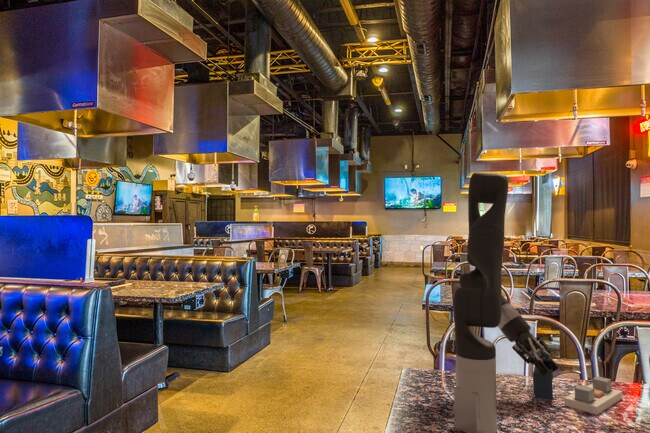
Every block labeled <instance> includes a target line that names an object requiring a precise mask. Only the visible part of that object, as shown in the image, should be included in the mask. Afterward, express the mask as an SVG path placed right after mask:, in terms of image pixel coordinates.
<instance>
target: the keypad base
mask: <svg viewBox="0 0 650 433" xmlns="http://www.w3.org/2000/svg"><path fill="white" fill-rule="evenodd" d="M586 387H590V388H593V383H590V384H588V385H586ZM594 398H595V397H594ZM622 399H623V391H621V390H618V389H614V388H611V390H609V391H608V392H604V391H603V397H601V398H600V399H599V398H595V399H594V400H592V401H591V402H586V401H583V400H579V399H575V391H574V392H573V393H571V394H569V395H567V396H565V397H564V398H563V400H564V402H563V404H564V407H565V406H566V407H569V408H572V409H576V410H579V411H582V412H587V413H590V414H593V415H599V414H601V413H602V412H603V411H605V410H606V409H607V410H608V409H609V408H610V407H611V406H613V405H614V404H616V403H618V402H620V401H621V400H622Z"/></svg>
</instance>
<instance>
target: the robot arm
mask: <svg viewBox="0 0 650 433" xmlns="http://www.w3.org/2000/svg"><path fill="white" fill-rule="evenodd" d="M508 193H509V179H508V177H507V175H506V174H503V173H496V172H494V173H493V172H483V171H482V172H481V171H478V172H477V171H476V172H473V173H472V174H471V176H470V179H469V183H468V193H467V194H468V195H467V197H468V198H467V199H468V200H467V203H468V208H467V210H468V211H467V212H468V213H467V214H468V219H467V220H468V235H467V236H468V238H467V243H466V244H467V245H466V249H467V252H466V254H467V255H466V262H467V263H468V264H469V265H470V266H473V267H474V269H472V270H469V271H466V272H463V273H462V274H461V275H460V277H459V286H460V287H458V288H456V290H455V292H454V295H453V304H452V305H453V318H454V338H455V339H454V340H455V341H454V342H455V344H454V345H455V387H454V388H453V407H454V409H453V411H454V412H453V414H454V416H453V417H454V422H453V423H454V424H453V425H454V428H455V430H458V431H461V432H464V433H497V432H498V410H497V408H498V405H497V404H498V403H497V402H498V401H497V398H498V397H497V350H496V345H495V344H494V343H493V342H492V341H490V340H488V339H485V338H484V337H481V336H479V335H478V334H477V333H475V332H474V331H473V330H472V329H471V327H473V328H474V327H476V328H488V329H493V328H494V329H495V328H498V329H499V331H500V332H501V333H502V334H503V335H504V336H505V338H507V340H508V341H509V342H510V343H513V342H514V343H515V344H513V345H512V346H511V349H513V351H514V352H515V353H516V354H517V355H518V356H519V358H522V360H523V361H524V362H525V363H526V364H528V365H529V364H531V365H534V367H536V368H537V369H538V370H539V371H540V373H541V374H542V375H543V376H545V375H546V374H548V373H549V369H548V368H547V367H546V366H545V365H544V363H543V357H545V354H548V355H549V357H550V358H552V357H551V354H552V351H551V349H550V348H549V346H548V345H547V343H546V342H545V341H544V339H543V338H542V337H541V336H540V335H538V336H537V337H535V335H533V334H532V333H531V332H530V331H531V329H532V327H531V326H530V324H529V323H528V322H527V321H526V320H525V319H524V317H523V316H522V315H521V314H520V313H519V311H518V310H517V309H516V308H515V307H514V306H513V305H512V304H510V302H509V301H508V300H507V299H506V298H505V296H504V295H503V294H502V291H503V290H502V288H503V286H502V284H503V283H502V280H503V279H502V275H503V274H502V273H503V271H502V270H503V259H504V252H505V251H504V250H505V249H504V248H505V222H506V221H505V218H506V217H505V216H506V208H507V202H508V201H507V200H508V195H509V194H508ZM479 203H480V204H491V207H490V208H488V210H487V211H485V213H483V214H482V215H481V214H480V210H479V208H480V207H479ZM558 370H559V365H558V364H557V363H556V362H555V361H554V360H553V359H552V372H553V373H554V372H556V371H558Z"/></svg>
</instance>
